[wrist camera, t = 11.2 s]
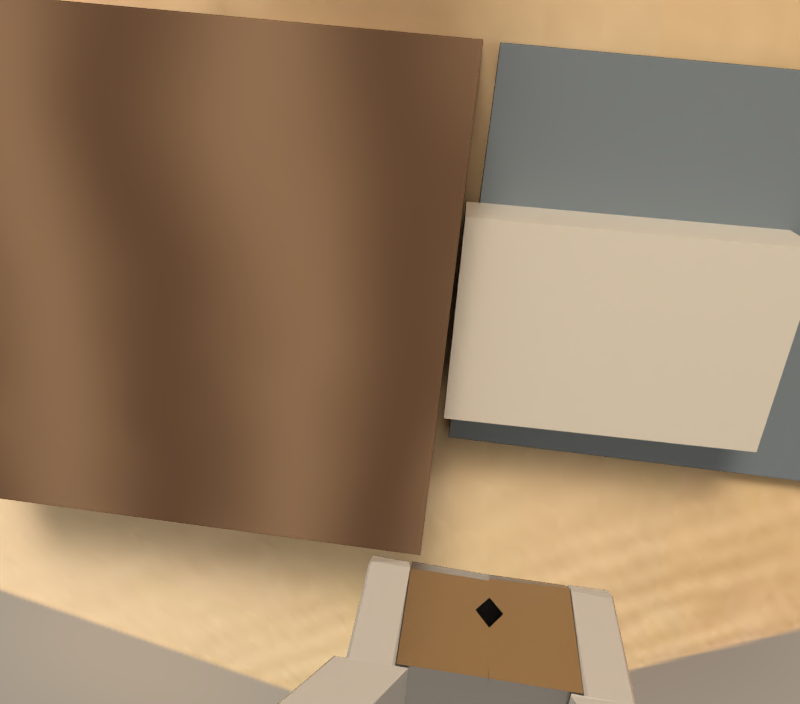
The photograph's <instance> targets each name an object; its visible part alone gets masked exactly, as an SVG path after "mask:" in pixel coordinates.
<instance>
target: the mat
mask: <svg viewBox="0 0 800 704" xmlns="http://www.w3.org/2000/svg"><path fill="white" fill-rule="evenodd" d="M479 203H490V204H501V205H512V206H523V207H535V208H546V209H557V210H568V211H580V212H591V213H602V214H614V215H625V216H636V217H647V218H659V219H670V220H681V221H692V222H704V223H715V224H726V225H737V226H749V227H760V228H771V229H782V230H791V231H792V232H794V233H796V234H797V235H799V236H800V70H794V69H783V68H772V67H761V66H750V65H740V64H729V63H718V62H707V61H696V60H686V59H675V58H664V57H653V56H642V55H631V54H621V53H610V52H599V51H588V50H577V49H566V48H556V47H545V46H534V45H523V44H512V43H500V50H499V58H498V65H497V73H496V80H495V88H494V96H493V103H492V111H491V118H490V126H489V133H488V141H487V149H486V156H485V164H484V171H483V179H482V186H481V194H480V202H479ZM449 437H452V438H460V439H468V440H476V441H484V442H492V443H500V444H508V445H516V446H524V447H532V448H540V449H548V450H556V451H564V452H572V453H580V454H588V455H596V456H604V457H612V458H620V459H628V460H636V461H644V462H652V463H660V464H668V465H676V466H684V467H692V468H700V469H708V470H716V471H724V472H732V473H740V474H748V475H756V476H764V477H772V478H780V479H788V480H796V481H800V321H799V324H798V327H797V330H796V333H795V336H794V339H793V342H792V345H791V348H790V352H789V355H788V358H787V361H786V364H785V367H784V370H783V373H782V376H781V379H780V382H779V385H778V388H777V391H776V394H775V397H774V400H773V403H772V406H771V409H770V412H769V415H768V418H767V422H766V425H765V428H764V431H763V434H762V437H761V440H760V443H759V446H758V449H757V452H749V451H739V450H730V449H721V448H712V447H703V446H694V445H684V444H675V443H666V442H657V441H648V440H638V439H629V438H620V437H611V436H602V435H592V434H583V433H574V432H565V431H556V430H547V429H537V428H528V427H519V426H510V425H501V424H491V423H482V422H473V421H464V420H455V419H451V421H450V429H449Z"/></svg>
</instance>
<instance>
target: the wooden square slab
mask: <svg viewBox="0 0 800 704" xmlns="http://www.w3.org/2000/svg"><path fill="white" fill-rule="evenodd" d="M482 46H483V39H472V38H461V37H450V36H439V35H429V34H418V33H407V32H396V31H385V30H374V29H364V28H353V27H342V26H331V25H320V24H309V23H299V22H288V21H277V20H266V19H255V18H244V17H233V16H223V15H212V14H201V13H190V12H179V11H168V10H158V9H147V8H136V7H125V6H114V5H103V4H93V3H82V2H71V1H60V0H0V498H1V499H8V500H16V501H23V502H31V503H38V504H45V505H53V506H60V507H68V508H75V509H82V510H90V511H97V512H105V513H112V514H120V515H127V516H134V517H142V518H149V519H157V520H164V521H171V522H179V523H186V524H194V525H201V526H208V527H216V528H223V529H231V530H238V531H245V532H253V533H260V534H268V535H275V536H282V537H290V538H297V539H305V540H312V541H320V542H327V543H334V544H342V545H349V546H357V547H364V548H371V549H379V550H386V551H394V552H401V553H408V554H416V555H420V553H421V544H422V536H423V528H424V520H425V512H426V503H427V495H428V487H429V479H430V471H431V463H432V454H433V446H434V438H435V430H436V422H437V414H438V405H439V397H440V389H441V381H442V373H443V365H444V356H445V348H446V340H447V332H448V324H449V315H450V307H451V299H452V291H453V283H454V275H455V266H456V258H457V250H458V242H459V234H460V226H461V217H462V209H463V201H464V193H465V185H466V176H467V168H468V160H469V152H470V144H471V136H472V127H473V119H474V111H475V103H476V95H477V87H478V78H479V70H480V62H481V54H482Z"/></svg>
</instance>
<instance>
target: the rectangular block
mask: <svg viewBox="0 0 800 704" xmlns="http://www.w3.org/2000/svg"><path fill="white" fill-rule="evenodd" d="M799 321H800V236H799V235H797V234H796V233H794V232H792V231H791V230H782V229H771V228H760V227H749V226H737V225H726V224H715V223H704V222H692V221H681V220H670V219H659V218H647V217H636V216H625V215H614V214H602V213H591V212H580V211H568V210H557V209H546V208H535V207H523V206H512V205H501V204H490V203H478V202H467V201H466V210H465V219H464V228H463V238H462V247H461V256H460V266H459V275H458V284H457V294H456V303H455V312H454V322H453V331H452V340H451V350H450V359H449V368H448V378H447V387H446V398H445V410H444V418H445V419H455V420H464V421H473V422H482V423H491V424H501V425H510V426H519V427H528V428H537V429H547V430H556V431H565V432H574V433H583V434H592V435H602V436H611V437H620V438H629V439H638V440H648V441H657V442H666V443H675V444H684V445H694V446H703V447H712V448H721V449H730V450H739V451H749V452H757V449H758V446H759V443H760V440H761V437H762V434H763V431H764V428H765V425H766V422H767V418H768V415H769V412H770V409H771V406H772V403H773V400H774V397H775V394H776V391H777V388H778V385H779V382H780V379H781V376H782V373H783V370H784V367H785V364H786V361H787V358H788V355H789V352H790V348H791V345H792V342H793V339H794V336H795V333H796V330H797V327H798V324H799Z"/></svg>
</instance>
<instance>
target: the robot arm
mask: <svg viewBox="0 0 800 704" xmlns="http://www.w3.org/2000/svg"><path fill="white" fill-rule="evenodd" d="M279 704H636V703H635V699H634V694H633V689H632V684H631V680H630V675H629V670H628V666H627V661H626V656H625V652H624V647H623V642H622V638H621V633H620V629H619V624H618V619H617V615H616V610H615V605H614V601H613V597H612V595H611V594H610V593H609V591H608V590H601V589H594V588H586V587H579V586H571V585H568V586H567V587H566V586H565V585H559V584H552V583H545V582H538V581H531V580H524V579H517V578H510V577H503V576H495V575H487V574H482V573H476V572H470V571H464V570H458V569H453V568H447V567H441V566H435V565H430V564H424V563H418V562H412V566H411V562H407V561H401V560H396V559H390V558H384V557H379V556H372V558H371V560H370V562H369V565H368V569H367V573H366V577H365V581H364V585H363V590H362V594H361V598H360V602H359V606H358V611H357V615H356V619H355V623H354V627H353V631H352V636H351V640H350V644H349V648H348V652H347V657H346V658H344V657H337V656H334V657H332V658H331V659H330V660H329V661H328V662H326V663H325V664H324V665H323V666H322V667H321V668H319V669H318V670H317V671H316V672H315V673H314V674H312V675H311V676H310V677H309V678H308V679H307V680H305V681H304V682H303V683H302V684H301V685H300V686H298V687H297V688H296V689H295V690H294V691H293V692H291V693H290V694H289V695H288V696H287V697H286V698H284V699H283V700H282V701H281V702H280V703H279Z"/></svg>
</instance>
